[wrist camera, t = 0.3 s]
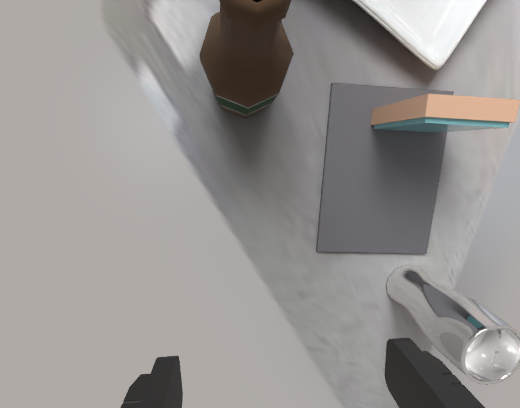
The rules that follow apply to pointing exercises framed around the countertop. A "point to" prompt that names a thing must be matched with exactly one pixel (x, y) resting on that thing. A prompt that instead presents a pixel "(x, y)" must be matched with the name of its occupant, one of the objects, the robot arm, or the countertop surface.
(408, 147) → the mat
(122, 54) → the countertop surface
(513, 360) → the beer glass
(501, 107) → the tile
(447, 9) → the square plate
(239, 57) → the beer bottle
